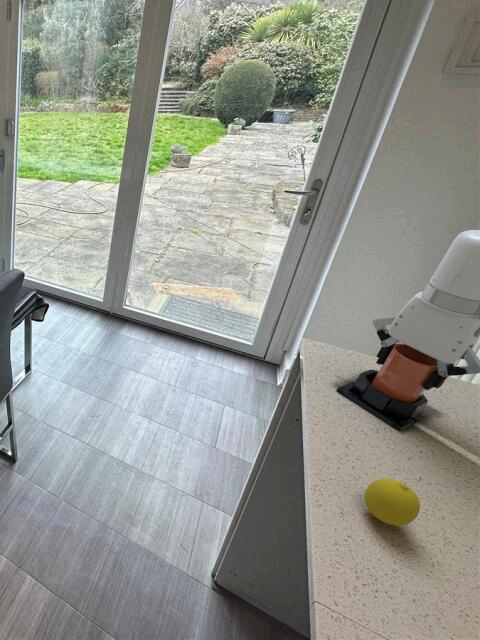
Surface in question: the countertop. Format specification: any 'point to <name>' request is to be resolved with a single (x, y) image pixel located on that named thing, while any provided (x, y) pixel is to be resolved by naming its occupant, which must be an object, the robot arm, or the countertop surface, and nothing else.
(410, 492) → the lemon
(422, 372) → the cup
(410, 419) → the cup holder
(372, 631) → the countertop surface
